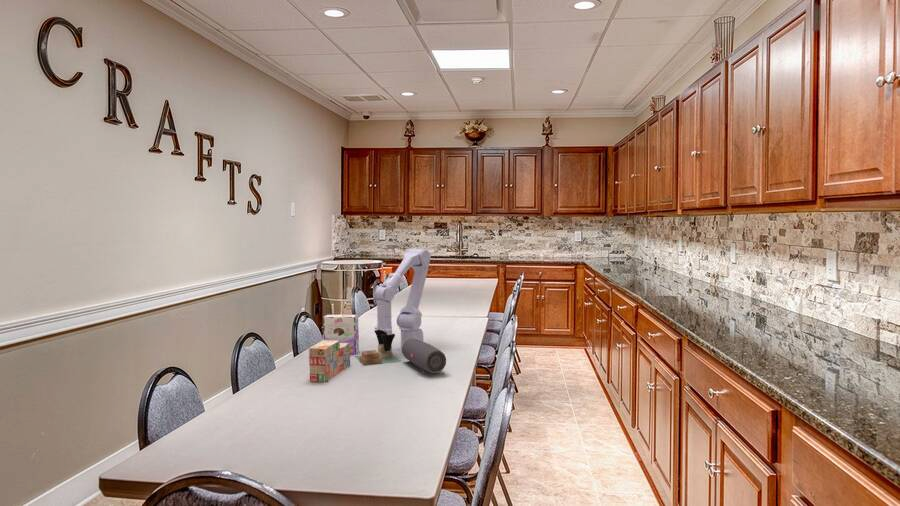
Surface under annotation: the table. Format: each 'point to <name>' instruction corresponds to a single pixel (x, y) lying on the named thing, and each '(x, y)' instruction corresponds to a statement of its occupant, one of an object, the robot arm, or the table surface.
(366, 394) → the table surface
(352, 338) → the candy box
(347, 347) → the stack of blocks
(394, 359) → the cutting mat
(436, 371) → the bluetooth speaker
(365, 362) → the tower base
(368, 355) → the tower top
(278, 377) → the table surface
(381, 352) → the oak block
